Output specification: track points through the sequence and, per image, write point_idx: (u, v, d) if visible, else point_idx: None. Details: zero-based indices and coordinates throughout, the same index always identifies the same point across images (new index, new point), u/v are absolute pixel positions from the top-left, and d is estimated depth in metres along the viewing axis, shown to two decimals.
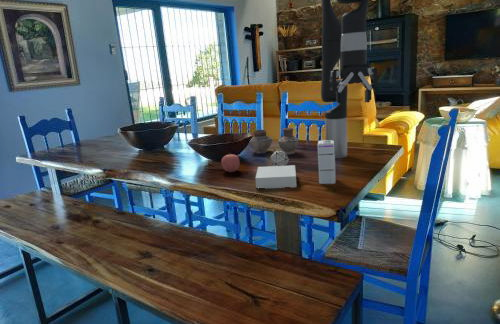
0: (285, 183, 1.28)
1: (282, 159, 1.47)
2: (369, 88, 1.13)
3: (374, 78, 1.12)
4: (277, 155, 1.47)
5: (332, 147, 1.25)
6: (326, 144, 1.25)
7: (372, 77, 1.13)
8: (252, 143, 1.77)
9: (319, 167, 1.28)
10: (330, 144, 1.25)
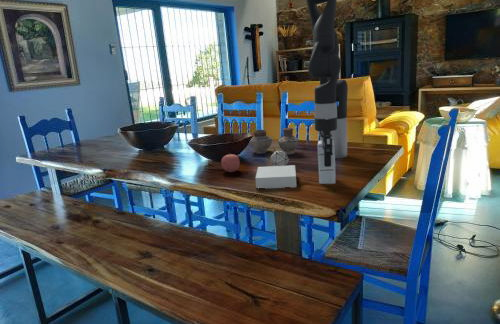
0: (285, 183, 1.28)
1: (282, 159, 1.47)
2: None
3: None
4: (277, 155, 1.47)
5: (332, 147, 1.25)
6: None
7: None
8: (252, 143, 1.77)
9: (319, 167, 1.28)
10: None
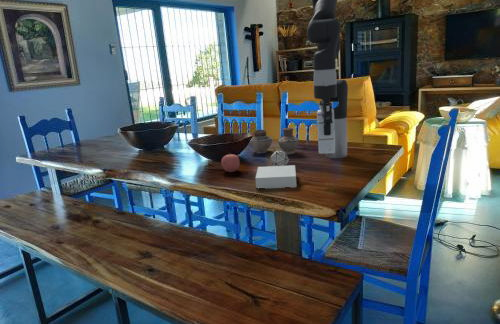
0: (285, 183, 1.28)
1: (282, 159, 1.47)
2: None
3: None
4: (277, 155, 1.47)
5: (332, 115, 1.22)
6: None
7: None
8: (252, 143, 1.77)
9: (318, 136, 1.25)
10: None
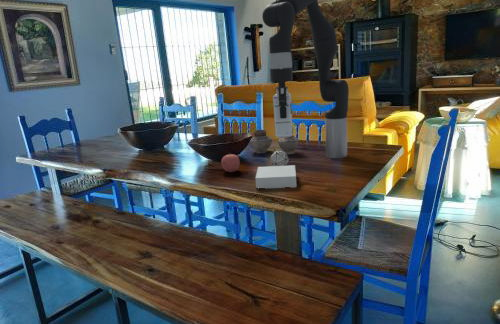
0: (285, 183, 1.28)
1: (282, 159, 1.47)
2: None
3: None
4: (277, 155, 1.47)
5: None
6: None
7: None
8: (252, 143, 1.77)
9: (275, 119, 1.26)
10: None
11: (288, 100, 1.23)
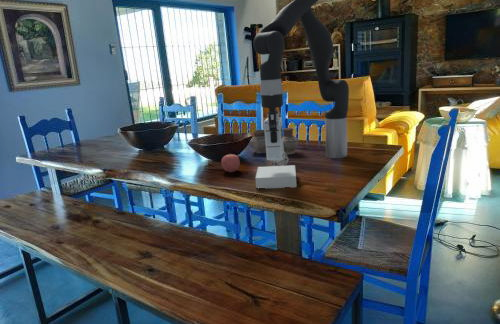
0: (285, 183, 1.28)
1: (282, 159, 1.47)
2: None
3: None
4: None
5: (278, 123, 1.26)
6: None
7: None
8: (252, 143, 1.77)
9: (266, 143, 1.29)
10: (276, 120, 1.26)
11: (278, 125, 1.27)
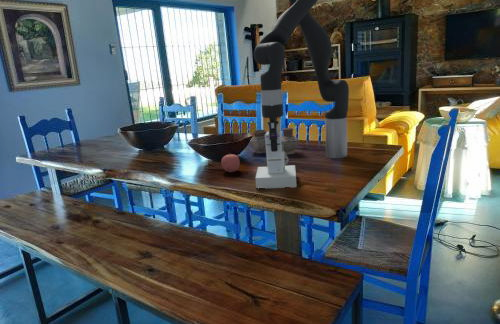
0: (285, 183, 1.28)
1: None
2: None
3: None
4: None
5: (279, 137, 1.27)
6: None
7: None
8: (252, 143, 1.77)
9: (267, 157, 1.30)
10: None
11: (279, 139, 1.28)
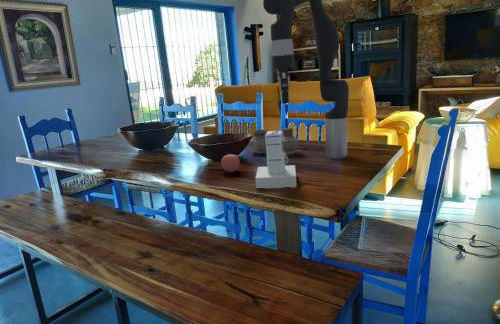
0: (285, 183, 1.28)
1: None
2: (288, 87, 1.33)
3: None
4: None
5: (279, 137, 1.27)
6: (273, 134, 1.28)
7: None
8: (252, 143, 1.77)
9: (267, 157, 1.30)
10: (277, 134, 1.27)
11: (280, 139, 1.28)
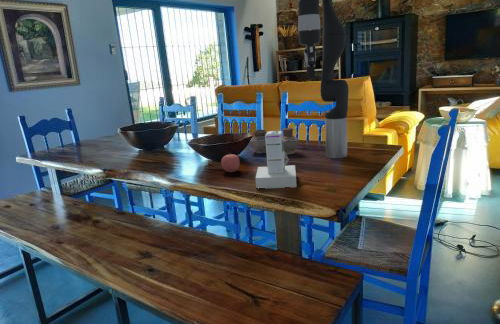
0: (285, 183, 1.28)
1: None
2: None
3: None
4: None
5: (279, 137, 1.27)
6: (273, 134, 1.28)
7: None
8: (252, 143, 1.77)
9: (267, 157, 1.30)
10: (277, 134, 1.27)
11: (279, 139, 1.28)
